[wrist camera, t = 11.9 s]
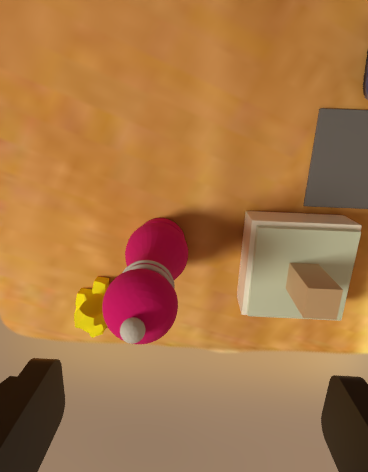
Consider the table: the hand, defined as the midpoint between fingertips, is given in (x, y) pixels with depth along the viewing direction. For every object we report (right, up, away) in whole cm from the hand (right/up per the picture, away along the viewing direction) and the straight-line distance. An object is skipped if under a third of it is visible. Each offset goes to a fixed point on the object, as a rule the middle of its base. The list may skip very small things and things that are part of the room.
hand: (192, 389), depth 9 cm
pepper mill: (-3, +4, +31) cm, 31 cm away
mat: (+20, +13, +27) cm, 36 cm away
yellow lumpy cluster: (-12, -5, +34) cm, 36 cm away
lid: (+13, 0, +26) cm, 30 cm away
